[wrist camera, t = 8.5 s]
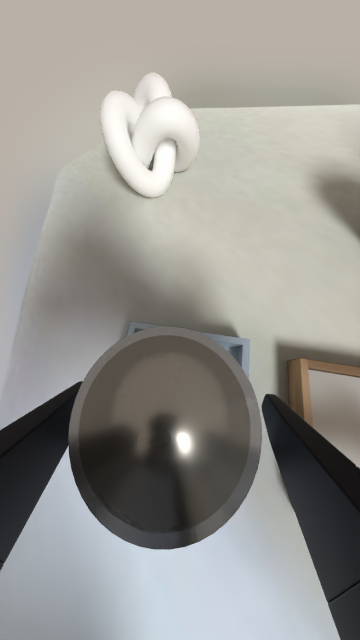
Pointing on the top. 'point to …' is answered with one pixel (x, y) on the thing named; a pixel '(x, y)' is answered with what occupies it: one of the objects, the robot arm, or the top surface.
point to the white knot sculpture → (149, 135)
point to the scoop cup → (165, 437)
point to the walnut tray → (328, 401)
